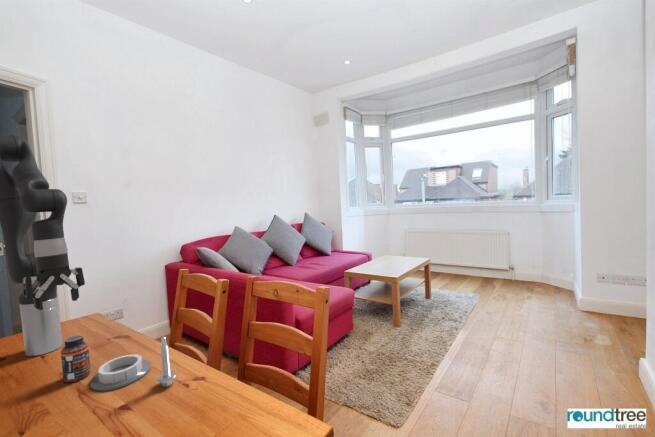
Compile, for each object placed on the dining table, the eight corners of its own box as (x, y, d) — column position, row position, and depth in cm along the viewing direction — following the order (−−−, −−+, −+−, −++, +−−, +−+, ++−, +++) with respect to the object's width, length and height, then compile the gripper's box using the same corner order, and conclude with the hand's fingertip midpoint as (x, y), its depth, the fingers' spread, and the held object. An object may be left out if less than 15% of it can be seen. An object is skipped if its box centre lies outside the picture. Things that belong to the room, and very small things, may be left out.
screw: (164, 378, 82) (181, 378, 82) (152, 389, 78) (170, 389, 77) (160, 332, 82) (177, 332, 81) (148, 340, 77) (166, 340, 76)
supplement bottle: (75, 384, 81) (71, 344, 81) (57, 382, 83) (53, 342, 82) (96, 371, 87) (92, 333, 86) (79, 370, 88) (75, 332, 88)
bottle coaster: (80, 382, 82) (78, 371, 82) (133, 357, 94) (132, 347, 94) (107, 397, 75) (106, 384, 75) (161, 368, 88) (160, 357, 87)
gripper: (73, 249, 101) (79, 297, 102) (14, 258, 89) (22, 311, 90) (84, 249, 98) (90, 298, 98) (24, 258, 85) (32, 314, 86)
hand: (58, 304), depth 94 cm, fingers open, 8 cm apart
